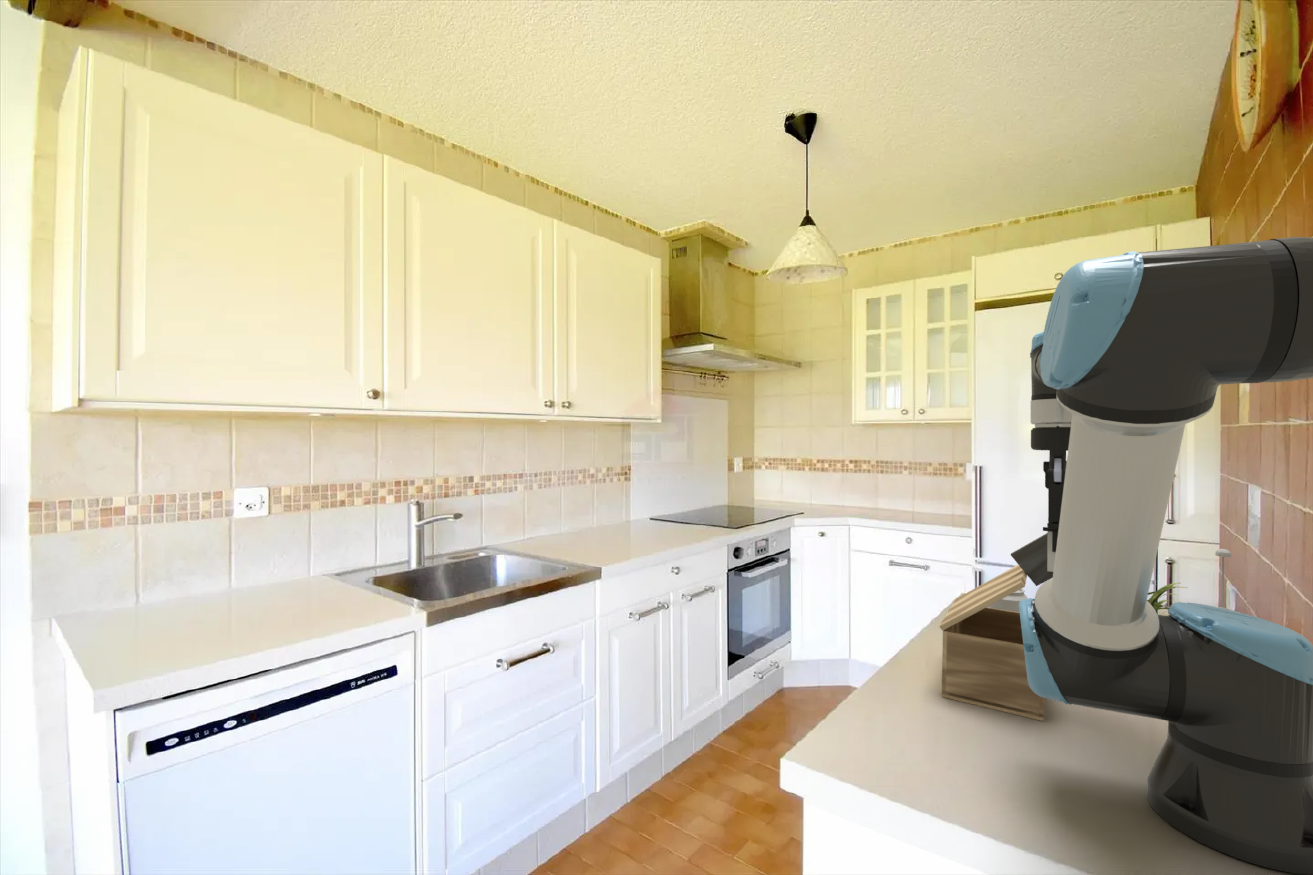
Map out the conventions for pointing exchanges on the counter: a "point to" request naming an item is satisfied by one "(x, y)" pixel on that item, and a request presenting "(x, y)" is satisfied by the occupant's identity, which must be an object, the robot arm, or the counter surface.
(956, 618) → the wooden box lid
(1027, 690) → the wooden box
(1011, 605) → the can
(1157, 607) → the house plant
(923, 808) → the counter surface
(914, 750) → the counter surface
